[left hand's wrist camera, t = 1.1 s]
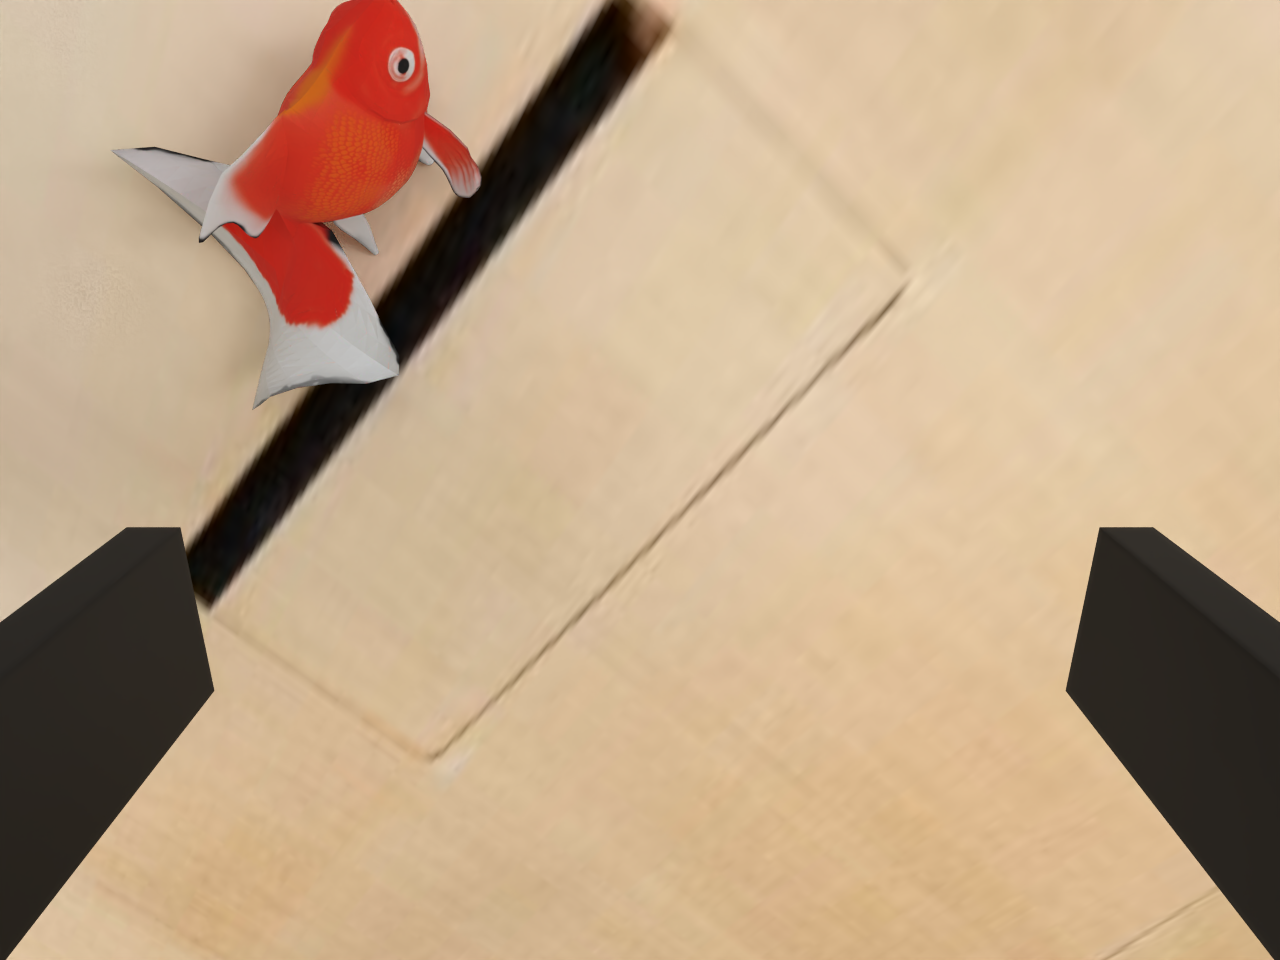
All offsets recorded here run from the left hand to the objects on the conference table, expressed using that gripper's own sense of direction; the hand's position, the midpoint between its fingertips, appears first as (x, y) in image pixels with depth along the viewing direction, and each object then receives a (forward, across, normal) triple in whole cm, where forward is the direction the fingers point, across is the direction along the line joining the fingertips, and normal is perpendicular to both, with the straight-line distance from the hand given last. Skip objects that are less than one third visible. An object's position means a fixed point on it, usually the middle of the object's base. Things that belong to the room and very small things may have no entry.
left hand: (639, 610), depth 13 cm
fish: (+25, -11, +4) cm, 27 cm away
